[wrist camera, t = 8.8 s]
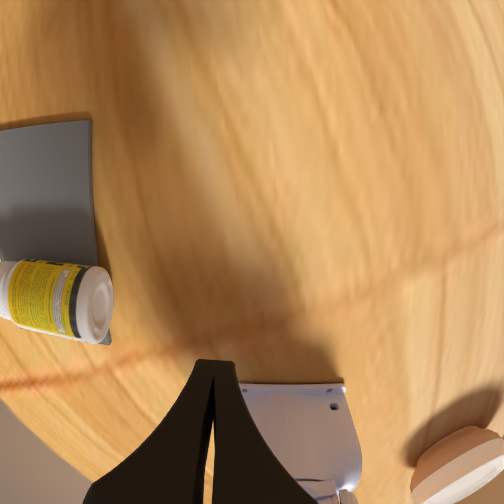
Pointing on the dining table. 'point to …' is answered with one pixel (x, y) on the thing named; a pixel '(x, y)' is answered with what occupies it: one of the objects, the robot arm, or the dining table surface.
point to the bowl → (457, 466)
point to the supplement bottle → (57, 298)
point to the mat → (48, 195)
